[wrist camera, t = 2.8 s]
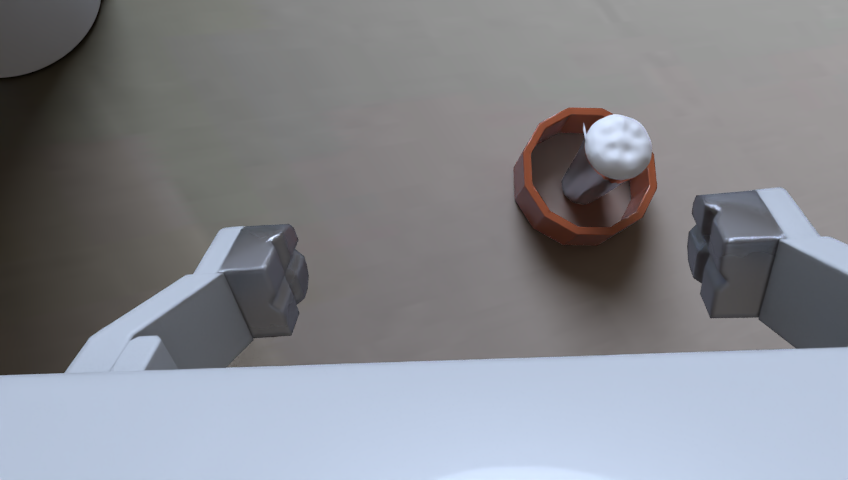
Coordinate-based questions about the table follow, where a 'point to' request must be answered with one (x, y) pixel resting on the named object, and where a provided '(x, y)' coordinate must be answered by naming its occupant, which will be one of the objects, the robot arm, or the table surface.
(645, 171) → the orange round shallow bowl
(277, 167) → the table surface
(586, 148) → the milkshake
